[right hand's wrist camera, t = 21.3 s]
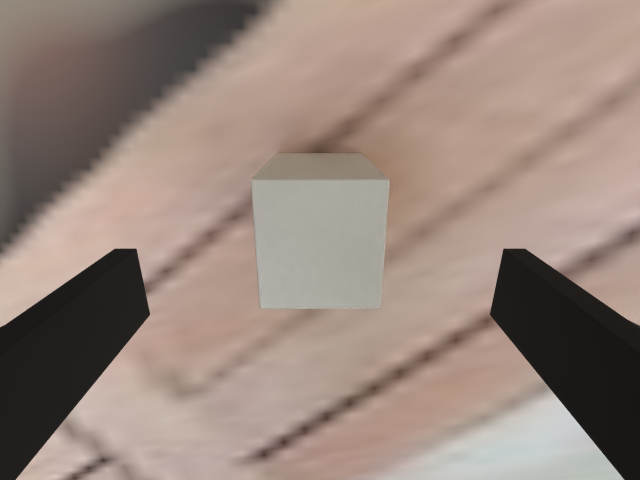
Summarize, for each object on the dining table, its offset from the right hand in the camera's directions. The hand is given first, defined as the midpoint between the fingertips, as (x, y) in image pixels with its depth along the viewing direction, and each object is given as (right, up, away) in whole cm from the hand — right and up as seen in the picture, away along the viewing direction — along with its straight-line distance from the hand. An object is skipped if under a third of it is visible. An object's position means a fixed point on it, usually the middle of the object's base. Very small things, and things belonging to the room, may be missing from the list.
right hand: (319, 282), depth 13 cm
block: (0, +5, +14) cm, 14 cm away
